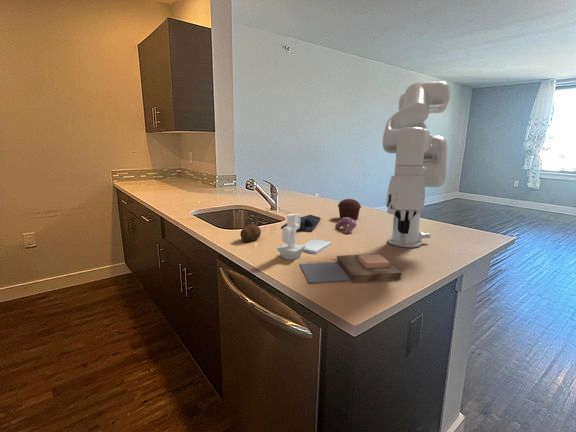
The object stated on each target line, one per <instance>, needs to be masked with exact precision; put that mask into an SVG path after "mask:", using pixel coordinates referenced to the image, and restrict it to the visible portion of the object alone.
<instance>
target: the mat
mask: <svg viewBox="0 0 576 432" xmlns="http://www.w3.org/2000/svg"><path fill="white" fill-rule="evenodd" d="M299 266H300V268H301V270H302V272H303V274H304V276H305V277H306V280H307V282H308V284H324V283H325V284H326V283H340V282H341V283H342V282H351V281H352V280H351V278H350V277H349V276H348V275H347V273H346V272H345V271H344V270H343V269H342V267H341V266H340V265H339V264H338V263H337V261H327V262H325V261H324V262H308V263H299Z"/></svg>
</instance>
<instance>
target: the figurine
mask: <svg viewBox="0 0 576 432" xmlns="http://www.w3.org/2000/svg"><path fill="white" fill-rule="evenodd" d="M300 217H301V214H300V213H289V214H286V224H287V226H285V227H284V228H282V232H281V237H282V238H281V240H282V242H283V244H282V245H280V246H277V248H276V250H277V251H278V252H279V254H280V256H281V258H282V259H287V260H292V261H295V260H296V259H298V258H300V257H301V255H302V254H303V250H304V248H305V245H303V244H300V243H299V244H298V243H297V240H296V239H297V237H296V236H297V235H296V232H297V231H296V230H298V229H299V228H300Z"/></svg>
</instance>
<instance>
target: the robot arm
mask: <svg viewBox="0 0 576 432" xmlns="http://www.w3.org/2000/svg"><path fill="white" fill-rule="evenodd" d="M450 97H451V89H450V85H449V83H447V82H446V81H443V80H436V81H421V82H420V81H419V82H414V83H411V84H410V85H409V86H408V87H407V88H406V90H405V93H402V94H401V95H400V96H399V98H398V99H399V100H398V111H396V113H394V114H392V116H390V117H389V118H388V120H387V122H386V124H385V127H384V131H383V135H382V148H383V150H384V152H385V153H388V154H395V162H394V163H395V165H394V171H393V172H394V173H393V174H394V175H391V176H390V180H389V184H388V188H387V195H386V201H385V202H386V203H385V206H386V208H387V211H386V213H387V214H389V215H393V219H392V220H393V221H392V231H391V232H392V233H391V234H392V235H391V236H389V237H387V242H388V243H389V244H390V245H393V246H396V247H400V248H419V247H420V246H422V245H423V241H422V240H423V239H430V238H431V233H429V232H428V233H427V232H426V233H424V232H422V231H420V222H421V221H420V220H421V214H422V213H423V212H424V211H423V209H424V206H425V198H426V191H425V190H426V188H441V187H442V186H443V185H444V184H445V182H446V178H447V165H448V164H447V163H448V142H447V139H446V138H445V137H444V136H441V135H433V134H431V131H429V129H428V128H427V125H426V123H425V122H426V120H427V119H428V118H429V114H441V113H444V112H445V111H446V109H447V108H448V104H449V102H450Z"/></svg>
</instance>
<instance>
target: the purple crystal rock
mask: <svg viewBox="0 0 576 432" xmlns="http://www.w3.org/2000/svg"><path fill="white" fill-rule="evenodd" d="M356 227H357V222H356V220H353V219H352V218H349V217H346V218H345V217H343V218H342V219H339V221H338V222H336V224H335V225H334V228H335V229H337V230H338V229H341V228H342V229H343V230H344V233H345V234H350V233H351V232H352V231H353V230H354V229H355V228H356Z"/></svg>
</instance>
